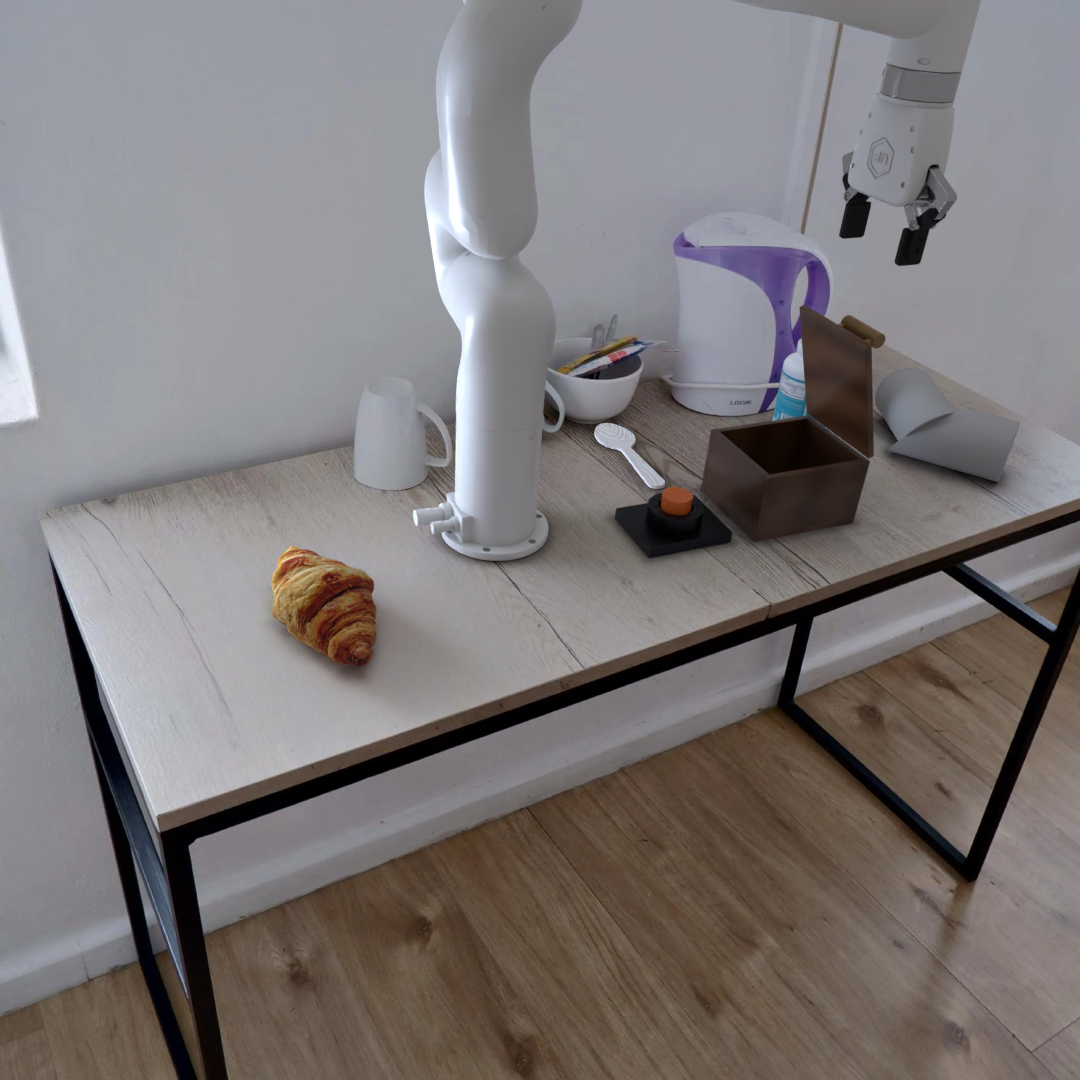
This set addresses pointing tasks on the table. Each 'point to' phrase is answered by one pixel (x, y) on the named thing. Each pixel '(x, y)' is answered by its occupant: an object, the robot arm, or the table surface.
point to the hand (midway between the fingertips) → (878, 250)
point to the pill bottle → (792, 388)
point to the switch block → (672, 527)
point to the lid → (840, 375)
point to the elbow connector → (942, 426)
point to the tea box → (783, 477)
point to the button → (676, 501)
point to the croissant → (325, 605)
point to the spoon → (627, 451)
